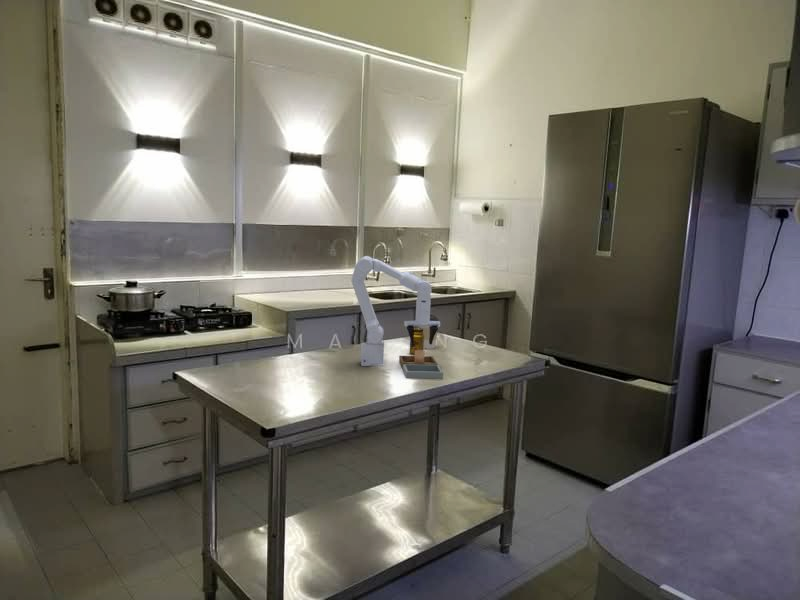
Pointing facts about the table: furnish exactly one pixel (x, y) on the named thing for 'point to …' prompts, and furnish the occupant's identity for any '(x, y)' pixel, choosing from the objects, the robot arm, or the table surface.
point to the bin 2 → (422, 371)
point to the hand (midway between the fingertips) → (421, 343)
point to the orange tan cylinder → (419, 356)
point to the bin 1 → (410, 360)
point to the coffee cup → (427, 334)
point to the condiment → (417, 341)
